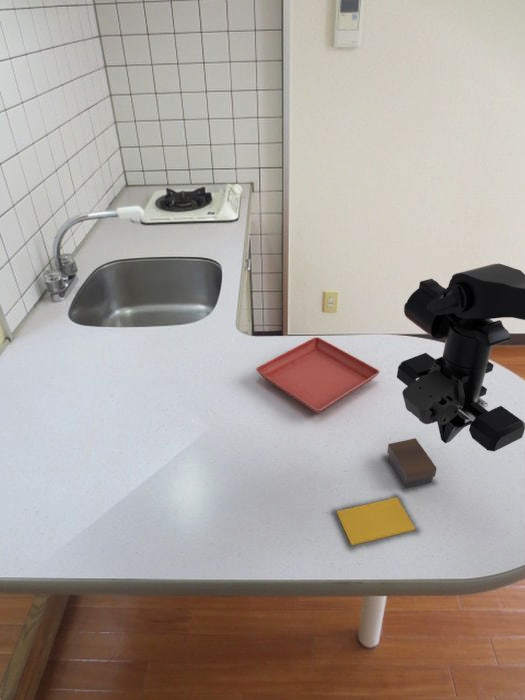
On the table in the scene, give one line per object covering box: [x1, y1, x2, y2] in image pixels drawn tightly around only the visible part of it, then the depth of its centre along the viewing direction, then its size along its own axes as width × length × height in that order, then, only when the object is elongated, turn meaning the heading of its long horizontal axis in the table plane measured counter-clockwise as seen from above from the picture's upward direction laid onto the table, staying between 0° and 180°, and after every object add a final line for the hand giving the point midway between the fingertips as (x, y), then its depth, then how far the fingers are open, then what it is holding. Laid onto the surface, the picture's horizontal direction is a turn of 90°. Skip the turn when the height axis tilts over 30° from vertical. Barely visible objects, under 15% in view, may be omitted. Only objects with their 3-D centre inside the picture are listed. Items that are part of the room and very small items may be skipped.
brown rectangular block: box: [386, 437, 438, 489], centre depth 86 cm, size 7×5×4 cm
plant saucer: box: [255, 336, 380, 414], centre depth 106 cm, size 18×18×3 cm
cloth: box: [336, 497, 416, 546], centre depth 79 cm, size 10×6×1 cm, turn 104°
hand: (445, 441), depth 78 cm, fingers closed
